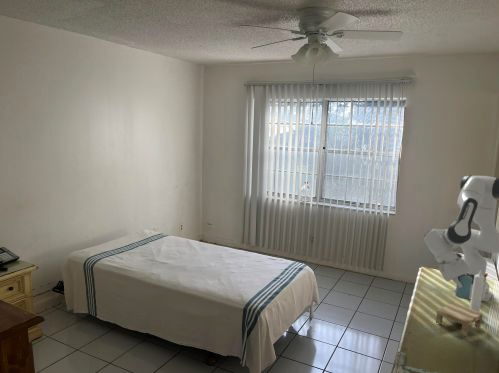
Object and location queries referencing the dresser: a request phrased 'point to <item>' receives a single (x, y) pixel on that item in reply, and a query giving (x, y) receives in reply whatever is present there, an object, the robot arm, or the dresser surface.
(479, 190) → the robot arm
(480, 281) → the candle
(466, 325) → the small wooden stool
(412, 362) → the dresser surface
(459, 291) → the teal domed cylinder
